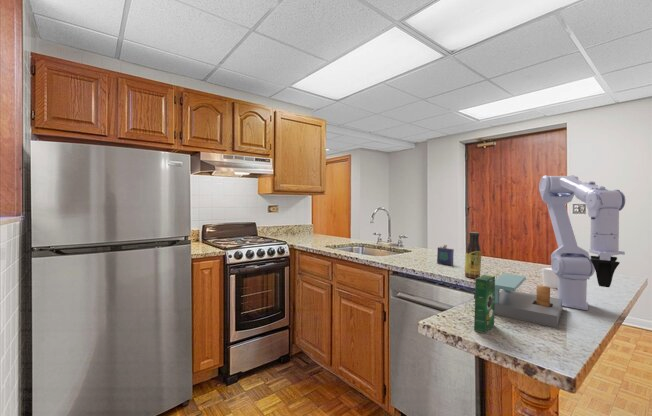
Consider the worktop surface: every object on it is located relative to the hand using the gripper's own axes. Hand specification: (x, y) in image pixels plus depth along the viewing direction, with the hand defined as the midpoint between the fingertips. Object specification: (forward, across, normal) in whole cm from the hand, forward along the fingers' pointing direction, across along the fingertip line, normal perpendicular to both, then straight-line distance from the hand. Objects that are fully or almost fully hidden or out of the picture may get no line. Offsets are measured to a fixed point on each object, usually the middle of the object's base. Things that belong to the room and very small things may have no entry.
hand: (603, 284), depth 84 cm
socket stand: (+10, -4, +17) cm, 20 cm away
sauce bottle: (+10, +33, +42) cm, 55 cm away
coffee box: (+11, -27, +23) cm, 37 cm away
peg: (+10, -4, +13) cm, 17 cm away
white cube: (+10, +38, +14) cm, 42 cm away
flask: (+10, +55, +62) cm, 84 cm away
